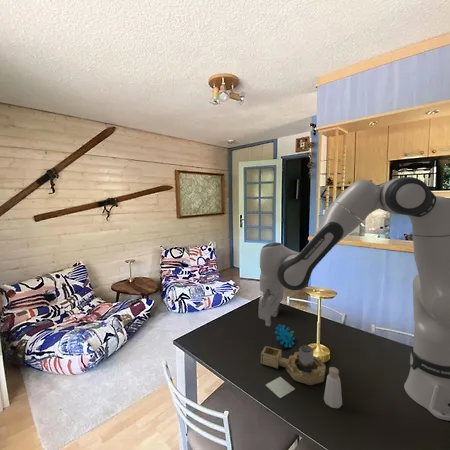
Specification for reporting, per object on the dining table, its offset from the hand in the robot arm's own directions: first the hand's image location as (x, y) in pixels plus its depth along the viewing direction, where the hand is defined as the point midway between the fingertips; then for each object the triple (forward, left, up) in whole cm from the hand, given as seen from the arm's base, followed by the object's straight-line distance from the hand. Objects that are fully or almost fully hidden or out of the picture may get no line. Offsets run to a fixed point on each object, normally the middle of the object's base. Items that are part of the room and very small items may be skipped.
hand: (271, 320), depth 98 cm
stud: (-13, 0, -17) cm, 22 cm away
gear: (-2, -15, -18) cm, 23 cm away
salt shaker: (-23, +10, -18) cm, 31 cm away
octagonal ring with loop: (-8, 0, -17) cm, 19 cm away
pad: (-7, +11, -17) cm, 22 cm away
